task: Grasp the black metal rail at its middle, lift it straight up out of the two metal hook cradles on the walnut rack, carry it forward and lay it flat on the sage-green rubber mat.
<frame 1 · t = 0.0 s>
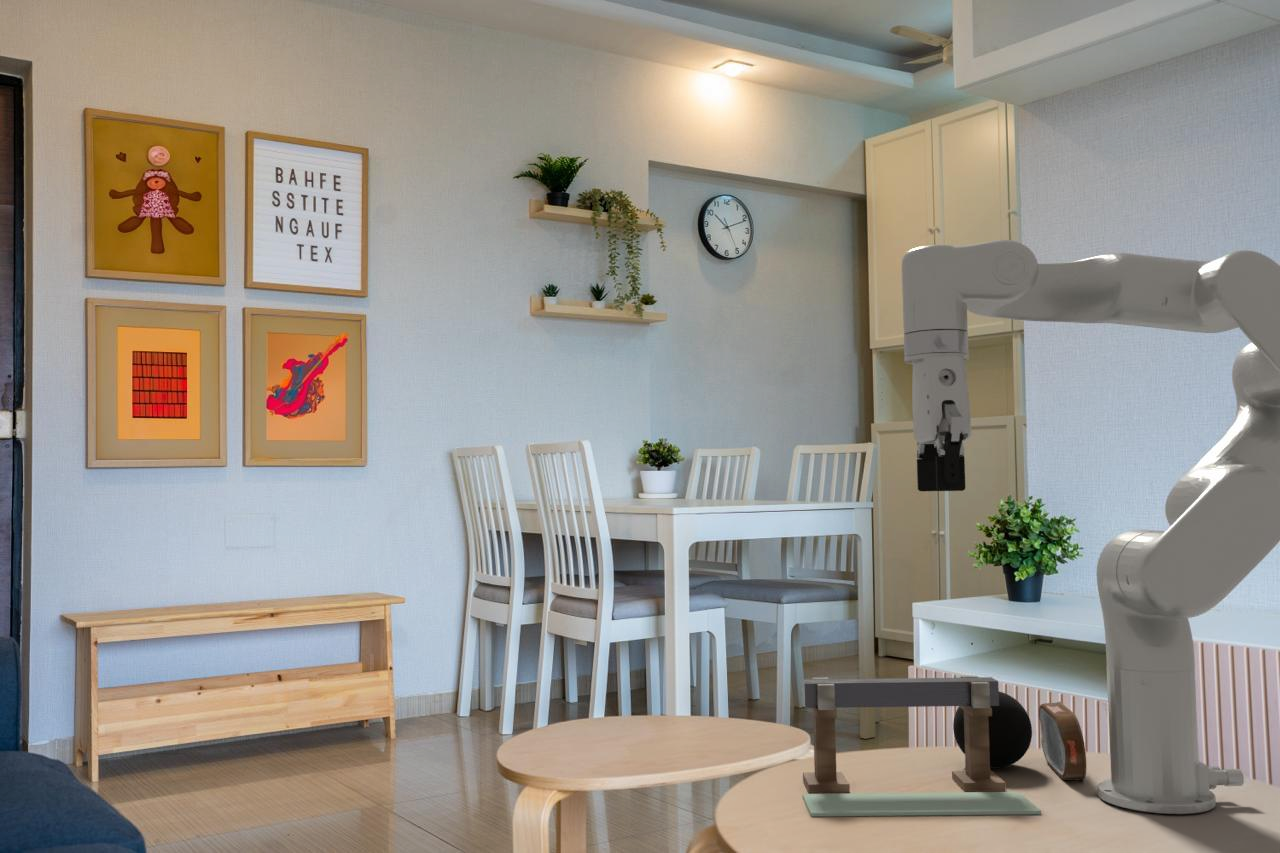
hand: (940, 490, 134), 37 cm above the table, tool pointing down, fingers open, 9 cm apart
rail: (899, 704, 140), point 10 cm above the table, touching rack
tin: (1062, 774, 145), on the table
mat: (917, 805, 131), on the table
decorative ball: (993, 768, 148), on the table
rack: (901, 785, 140), on the table
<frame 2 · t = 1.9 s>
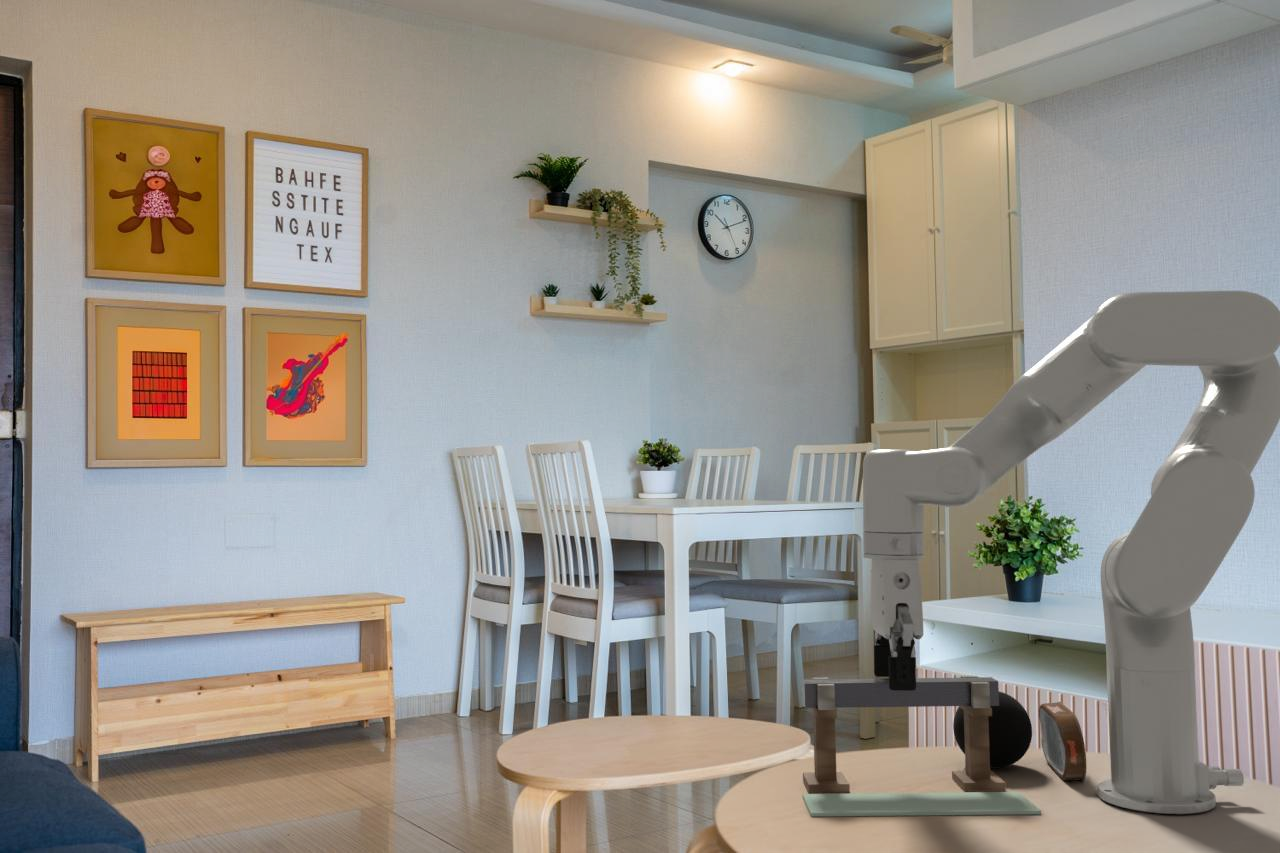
hand: (894, 682, 141), 13 cm above the table, tool pointing down, fingers open, 9 cm apart
nothing on the table moved.
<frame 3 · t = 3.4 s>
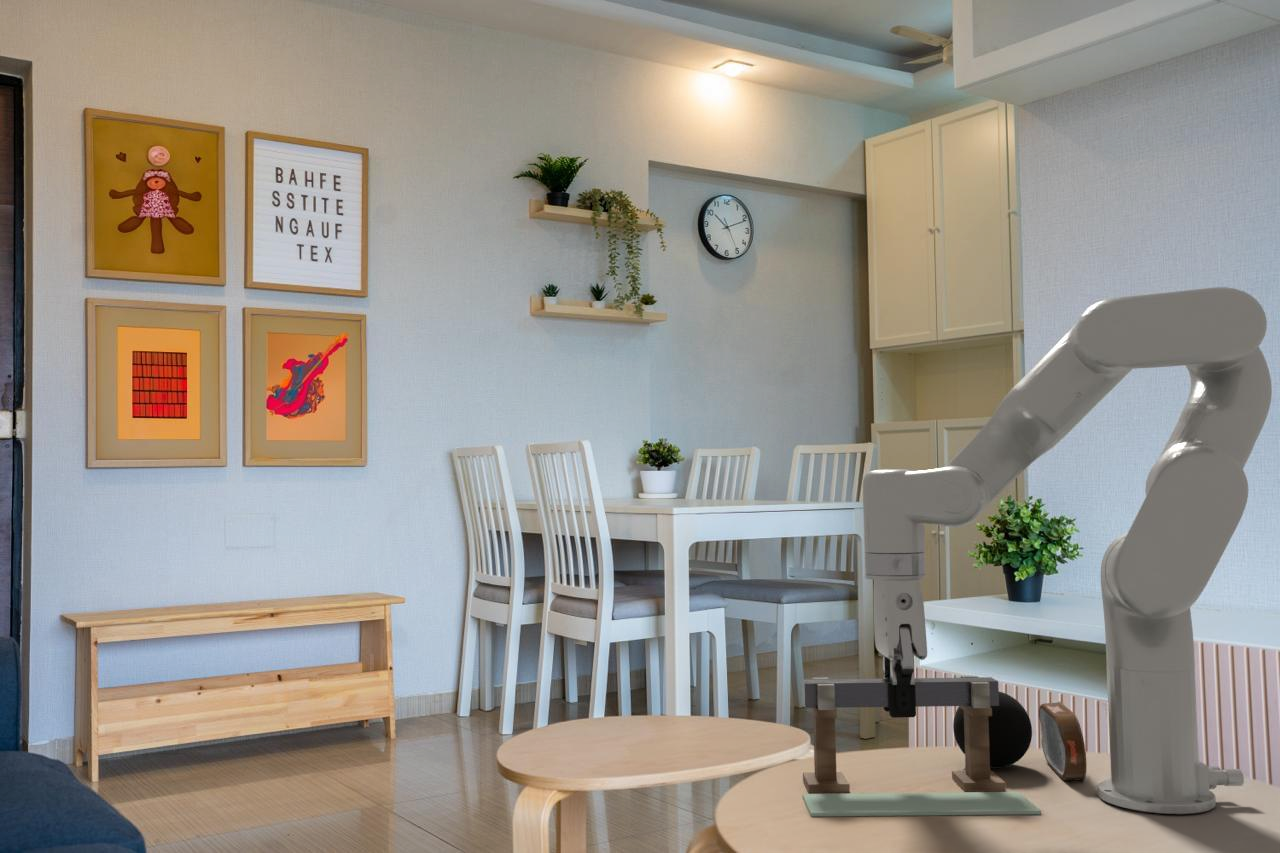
hand: (899, 712, 140), 9 cm above the table, tool pointing down, fingers closed on rail, 3 cm apart
rail: (899, 704, 140), point 10 cm above the table, touching gripper, rack
everything else where it was.
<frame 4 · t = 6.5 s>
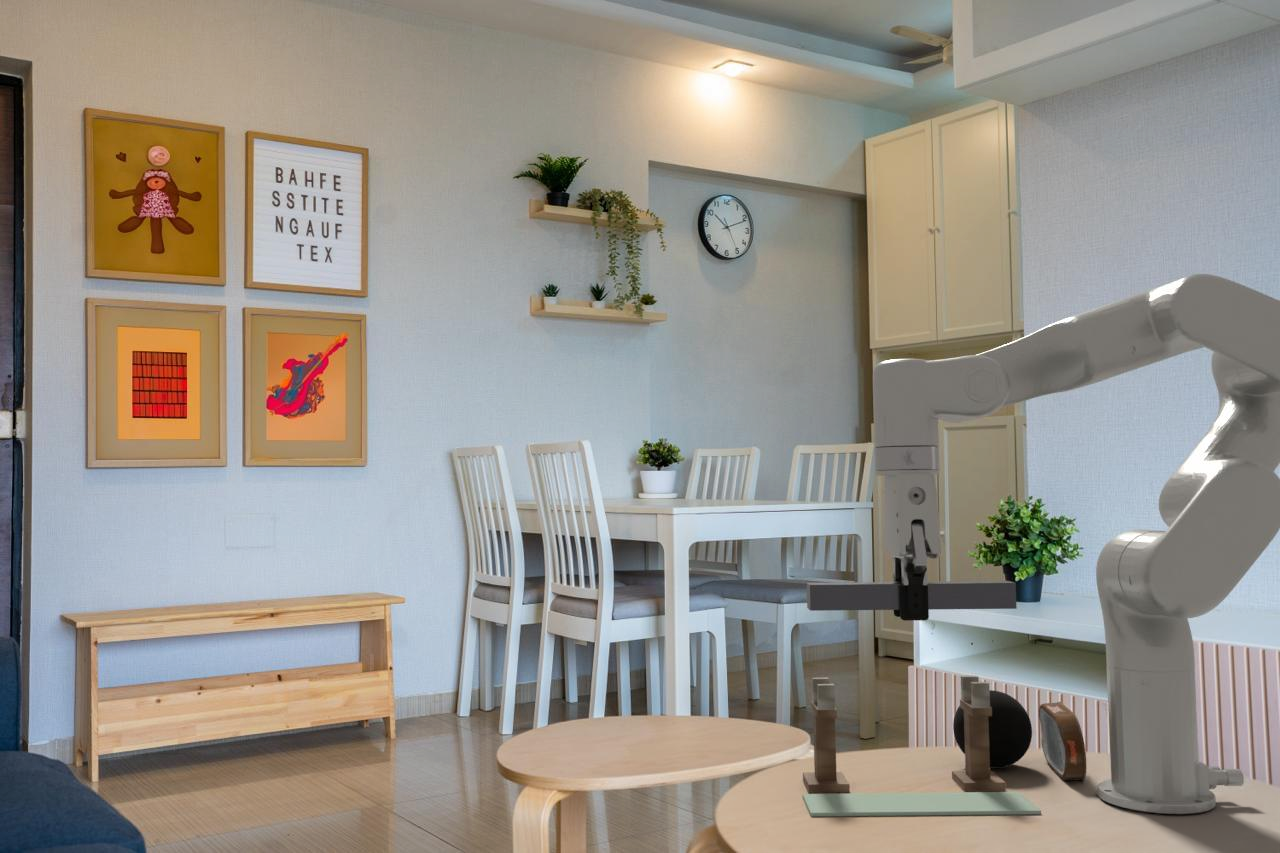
hand: (910, 616, 132), 22 cm above the table, tool pointing down, fingers closed on rail, 3 cm apart
rail: (910, 608, 132), point 23 cm above the table, touching gripper
everything else where it was.
when the fingers open (1 cm above the table, at t = 9.4 s): rail drops 2 cm, resting on mat.
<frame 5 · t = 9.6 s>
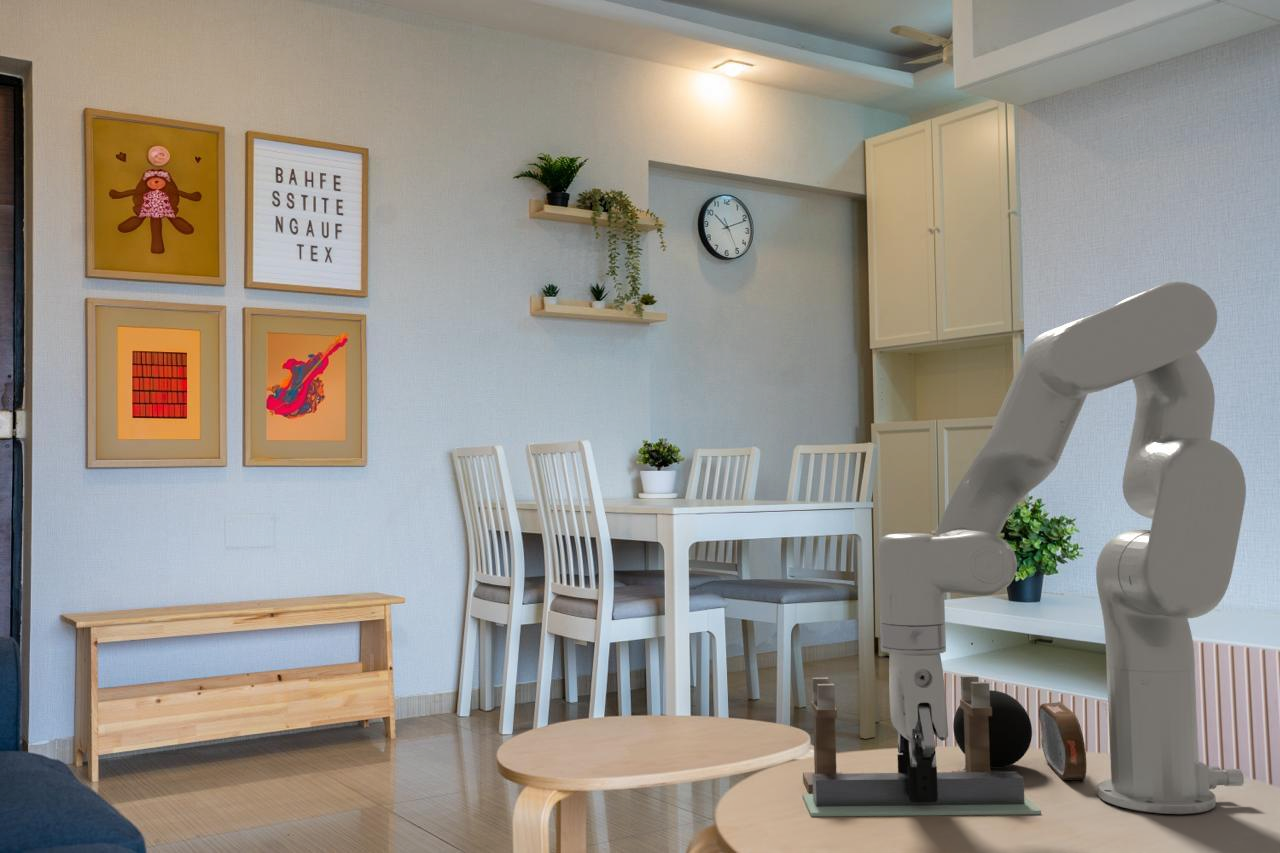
hand: (917, 793, 131), 1 cm above the table, tool pointing down, fingers open, 4 cm apart
rail: (917, 801, 131), resting on mat
everything else where it was.
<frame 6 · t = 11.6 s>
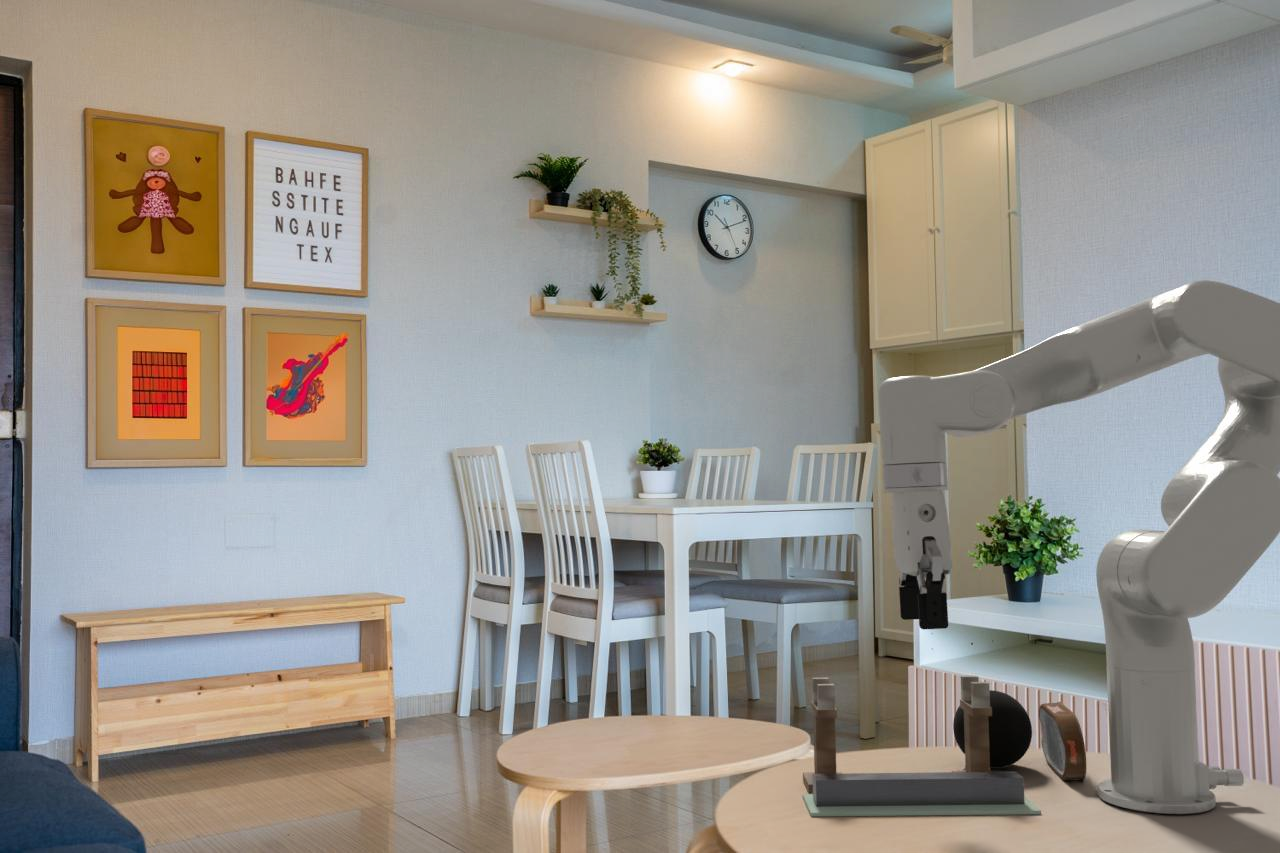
hand: (923, 623, 132), 21 cm above the table, tool pointing down, fingers open, 9 cm apart
nothing on the table moved.
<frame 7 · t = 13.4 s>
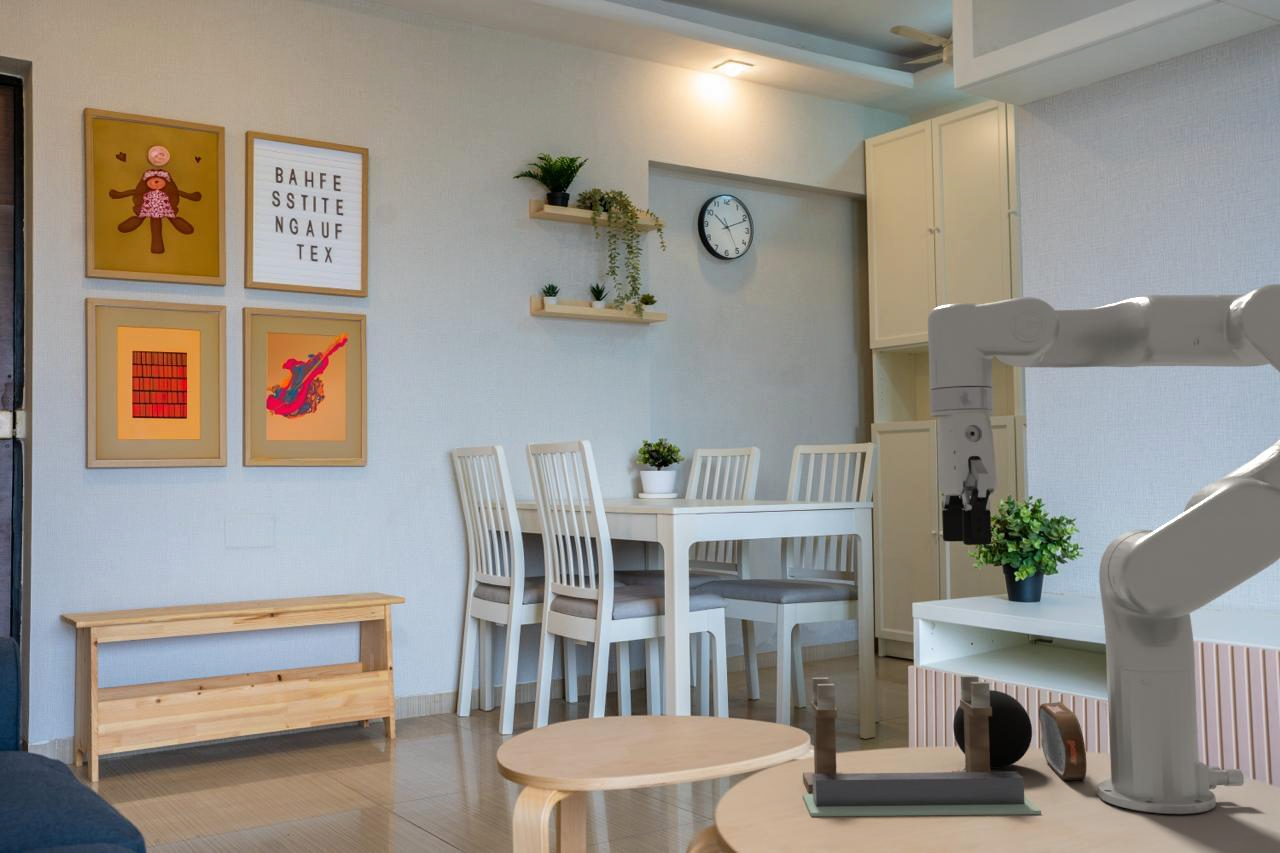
hand: (966, 542, 137), 30 cm above the table, tool pointing down, fingers open, 9 cm apart
nothing on the table moved.
at the end: rail inside the target area (0.0 cm from its centre), resting on mat; rail tilted 0°; the gripper is holding nothing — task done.
